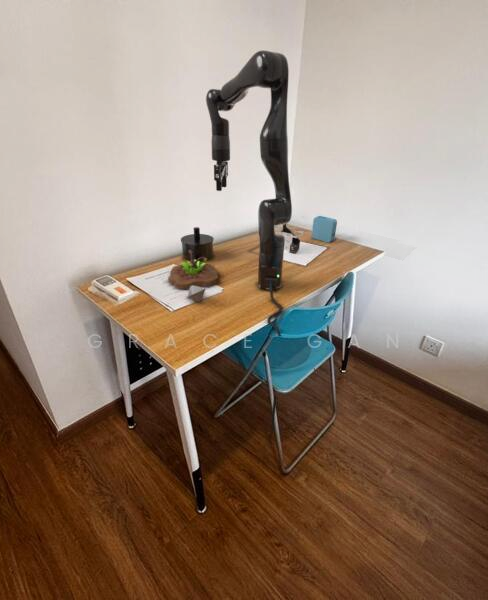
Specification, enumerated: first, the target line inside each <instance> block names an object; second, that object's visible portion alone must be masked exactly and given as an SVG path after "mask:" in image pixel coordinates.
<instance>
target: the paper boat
mask: <svg viewBox="0 0 488 600" xmlns="http://www.w3.org/2000/svg"><path fill="white" fill-rule="evenodd" d="M211 287H212V285H211V286H209V287H198V286H193V285H192V286H190V288H189V289H188V294H187V298H188V299H190V300H192V301H194V302H196V303H200V302H201V300H202V299H203V296H204V294H205V291H206V290H207V289H209V288H211Z"/></svg>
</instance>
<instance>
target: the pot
mask: <svg viewBox="0 0 488 600" xmlns="http://www.w3.org/2000/svg"><path fill="white" fill-rule="evenodd" d="M213 243H214V241H213V242H211V243H209V244H206V245H197V246H196V245H187V244H184V243H182V242H181V250H182V258H183V260H185V261H186V262H187V261H189V262H191V254H190V253H189V250H192V254H193V259H195V260H197V259H198V258H200V257H205V258H206V259H207V261H206V262H208V261H210V260H212V259H213V257H214V244H213ZM199 263H205V261H204V260H203V259H200V260H199Z"/></svg>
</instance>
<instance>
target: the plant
mask: <svg viewBox="0 0 488 600" xmlns="http://www.w3.org/2000/svg"><path fill="white" fill-rule="evenodd" d="M189 253H190V254H191V262H190V261H186V262H182V261H181V262H180V264H179V265H174V266H173V267H172V268H171V269H170V275H169V276H168V282H169V283H170V285H171V286H174V287H175V288H176V289H179V290H189V288H190V286H192V285H193V286H198V287H202V288H208V287H209V288H210V286H211V287H212V286H214V285H216V284H217V283H219V282H220V272H219V270H217V269H216V268H215V266H214V265H212V264H211V263H206V262H208V261H207V259H206V258H205V257H200V258H198V259H197V260H195V259H193V254H192V250H189ZM200 259H203V260H204V262H199V260H200Z"/></svg>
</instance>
